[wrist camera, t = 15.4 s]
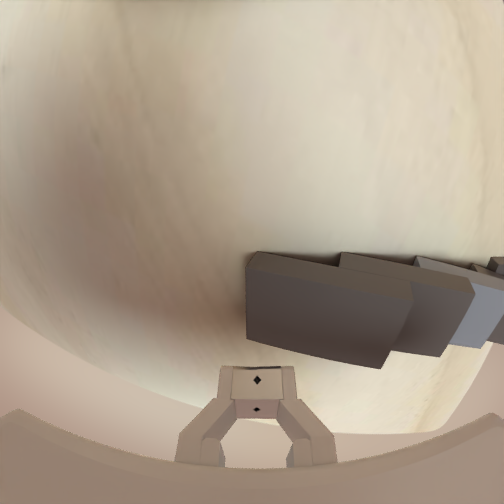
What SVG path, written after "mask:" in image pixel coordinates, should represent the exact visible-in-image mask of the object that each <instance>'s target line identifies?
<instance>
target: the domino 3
mask: <svg viewBox="0 0 504 504" xmlns="http://www.w3.org/2000/svg"><path fill="white" fill-rule="evenodd" d="M413 266H415V267H420V268H425V269H430V270H434V271H439V272H444V273H449V274H453V275H458V276H462V277H467V278H468V279H469V281H470V283H471V285H472V287H473V289H474V291H475V294H476V295H475V297H474V299H473V301H472V303H471V305H470V307H469V309H468V311H467V312H466V314H465V316H464V318H463V320H462V322H461V323H460V325H459V327H458V329H457V330H456V332H455V334H454V336H453V337H452V339H451V341H450V342H449V344H452V345H458V346H465V347H472V348H479V349H481V347H482V346H483V344H484V343H485V342H486V340H487V339H488V337H489V336H490V334H491V333H492V332H493V330H494V329H495V327H496V325H497V324H498V322H499V321H500V319H501V318H502V316H503V314H504V280H503V279H499V278H496V277H492V276H489V275H486V274H482V273H479V272H475V271H472V270H468V269H464V268H461V267H457V266H454V265H450V264H446V263H442V262H439V261H435V260H431V259H427V258H423V257H419V256H416V259H415V261H414V264H413Z"/></svg>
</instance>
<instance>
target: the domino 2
mask: <svg viewBox="0 0 504 504" xmlns="http://www.w3.org/2000/svg"><path fill="white" fill-rule="evenodd" d="M339 267H340V268H345V269H350V270H355V271H360V272H365V273H371V274H376V275H381V276H386V277H391V278H396V279H401V280H406V281H410V284H411V289H412V294H413V300H414V301H413V304H412V306H411V309H410V311H409V313H408V315H407V318H406V320H405V322H404V324H403V327H402V329H401V331H400V333H399V335H398V337H397V339H396V341H395V343H394V345H393V347H392V349H391V350H392V351H399V352H405V353H412V354H419V355H426V356H434V357H440V356H441V355H442V353H443V352H444V350H445V349H446V347H447V345H448V344H449V342H450V341H451V339H452V337H453V336H454V334H455V332H456V330H457V329H458V327H459V325H460V323H461V322H462V320H463V318H464V316H465V314H466V312H467V311H468V309H469V307H470V305H471V303H472V301H473V299H474V297H475V295H476V294H475V291H474V289H473V287H472V285H471V283H470V281H469V279H468V278H467V277H462V276H458V275H453V274H449V273H444V272H439V271H434V270H430V269H425V268H420V267H415V266H410V265H406V264H401V263H396V262H391V261H386V260H381V259H376V258H371V257H366V256H361V255H356V254H350V253H345V252H341V257H340V263H339Z"/></svg>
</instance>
